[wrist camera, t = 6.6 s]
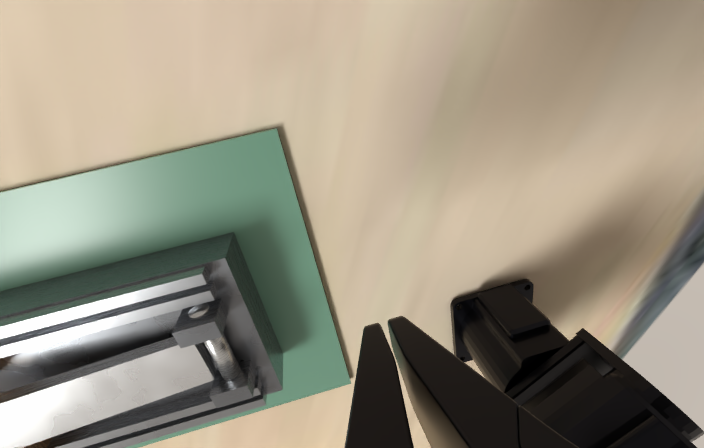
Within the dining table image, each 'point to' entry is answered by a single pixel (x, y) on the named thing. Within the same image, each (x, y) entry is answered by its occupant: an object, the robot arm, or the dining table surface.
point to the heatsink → (147, 335)
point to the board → (187, 239)
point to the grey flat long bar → (100, 391)
